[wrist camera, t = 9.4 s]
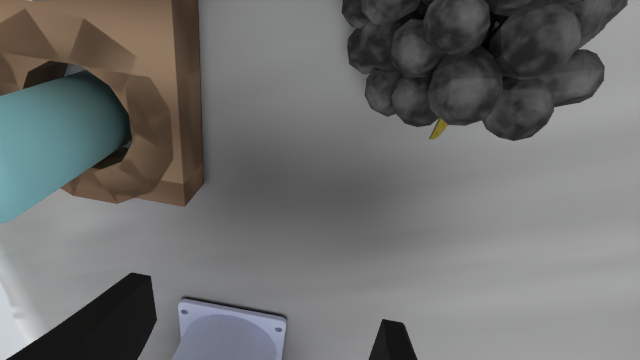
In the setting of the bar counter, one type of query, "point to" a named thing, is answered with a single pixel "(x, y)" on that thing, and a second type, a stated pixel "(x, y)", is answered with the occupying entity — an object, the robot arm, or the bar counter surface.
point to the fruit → (477, 59)
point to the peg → (55, 137)
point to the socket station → (120, 84)
